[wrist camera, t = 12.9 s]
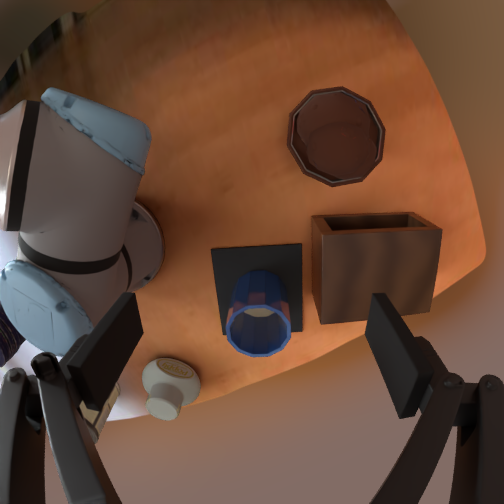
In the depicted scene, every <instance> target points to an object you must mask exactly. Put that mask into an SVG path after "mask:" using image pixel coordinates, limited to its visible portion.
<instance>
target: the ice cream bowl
mask: <svg viewBox="0 0 504 504" xmlns="http://www.w3.org/2000/svg"><path fill="white" fill-rule="evenodd" d="M385 130H386V129H385V127H384V125H383V123H382V121H381V119H380V118H379V116H378V114H377V112H376V110H375V108H374V106H373V105H372V103H371V101H369V100H367V99H365V98H364V97H362V96H360V95H358V94H356V93H354V92H352V91H351V90H349V89H347V88H345V87H343V86H342V87H334V88H326V89H319V90H313V91H311V92H310V93H309V94H308V95H307V96H306V97H305V98H304V99H303V100H302V101H301V102H300V103H299V104H298V105H297V106H296V107H295V108H294V109H293V110H292V112H291V113H290V115H289V126H288V137H287V147H288V149H289V150H290V152H291V154H292V155H293V157H294V159H295V160H296V162H297V164H298V165H299V167H300V169H301V171H302V172H303V174H305V175H307V176H309V177H312V178H314V179H316V180H318V181H320V182H322V183H324V184H326V185H329V186H331V187H336V186H341V185H346V184H352V183H357V182H362V181H363V180H364V179H365V178H366V177H367V176H368V175H369V173H370V172H371V171H372V170H373V169H374V168H375V167H376V166H377V165H378V164H379V163H380V162H381V160H382V157H383V149H384V140H385Z"/></svg>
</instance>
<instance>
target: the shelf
mask: <svg viewBox="0 0 504 504" xmlns="http://www.w3.org/2000/svg"><path fill="white" fill-rule="evenodd" d="M311 229H312V294H313V298H314V301H315V305H316V308H317V312H318V316H319V320H320V323H321V325H322V324H334V323H344V322H354V321H364V320H368V315H369V310H370V304H371V298H372V293H385V294H386V295H387V297H388V298H389V299H390V301H391V302H392V304H393V305H394V307H395V308H396V310H397V311H398V313H399V314H400V316H405V315H412V314H420V313H426V312H429V311H430V307H431V302H432V297H433V292H434V287H435V281H436V275H437V269H438V262H439V255H440V247H441V239H442V229H441V228H439V227H438V226H436V225H434V224H433V223H431V222H429V221H428V220H426V219H424V218H423V217H421V216H419V215H417V214H416V213H414V212H399V213H368V214H342V215H320V216H311Z"/></svg>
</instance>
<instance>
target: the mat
mask: <svg viewBox="0 0 504 504" xmlns="http://www.w3.org/2000/svg"><path fill="white" fill-rule="evenodd" d="M211 254H212V262H213V270H214V277H215V284H216V291H217V298H218V305H219V312H220V319H221V325H222V332H223V335H227V333H226V322H227V317H228V312H229V307H230V302H231V297H232V292H233V289H234V287H235V285H236V283H237V281H238V279H239V278H240V277H242V276H243V275H245V274H247V273H248V272H250V271H261V270H266V271H268V272H270V273H273V274H275V275H277V276H279V278H280V279H281V280H282V282H283V283H284V285H285V286H286V290H287V298H288V306H289V314H290V322H291V332H302V244H285V245H268V246H252V247H235V248H219V249H211Z"/></svg>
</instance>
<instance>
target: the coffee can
mask: <svg viewBox="0 0 504 504" xmlns="http://www.w3.org/2000/svg"><path fill="white" fill-rule="evenodd" d="M119 393H120V389H119V386H118V384H117V382H116V384H115V386H114V387H113V389H112V391H111V393H110V395H109V397H108V399H107V401H106V403H105V405H104V406H103V408H102V410H101V412H98V411H94V410H90V409H87V408H86V406H85V404H84V402H83V401H82V402H81V404H80V408H81V410H82V413H83V416H84V418H85V421H86V424H87V427H88V429H89V432H90V435H91V437H92V440H93V442H94V444H96V443H97V441H98V439H99V435H100V433H101V431H102V429H103V427H104V424H105V422H106V420H107V418H108V416H109V414H110V412H111V409H112V407H113V405H114V403H115V401H116V399H117V397H118V396H119Z"/></svg>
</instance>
